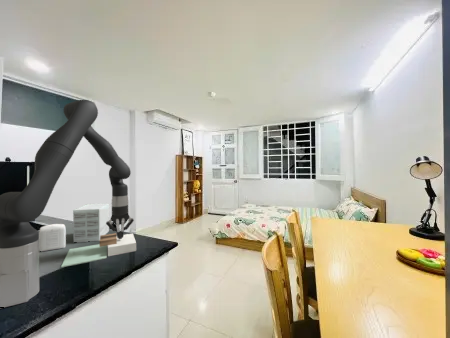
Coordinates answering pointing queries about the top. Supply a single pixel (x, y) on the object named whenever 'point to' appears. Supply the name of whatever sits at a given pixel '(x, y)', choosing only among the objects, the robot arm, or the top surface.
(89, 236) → the supplement box
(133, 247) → the white flat block
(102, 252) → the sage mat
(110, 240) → the walnut tile
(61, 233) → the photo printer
